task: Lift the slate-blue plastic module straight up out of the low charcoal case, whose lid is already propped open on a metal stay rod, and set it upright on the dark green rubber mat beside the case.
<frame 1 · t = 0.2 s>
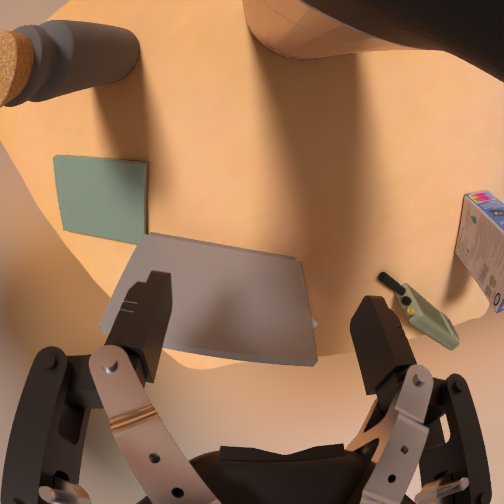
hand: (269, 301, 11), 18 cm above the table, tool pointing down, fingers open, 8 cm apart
bottle: (113, 55, 18), on the table
case: (213, 294, 36), on the table
handheld radio: (418, 300, 38), on the table
mat: (99, 198, 27), on the table
ink cartridge box: (471, 221, 28), on the table
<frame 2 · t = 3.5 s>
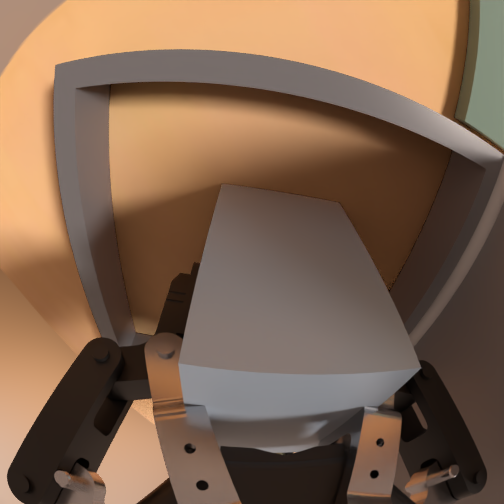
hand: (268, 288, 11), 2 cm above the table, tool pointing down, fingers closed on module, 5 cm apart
module: (267, 260, 13), resting in case, touching gripper
case: (267, 259, 13), on the table
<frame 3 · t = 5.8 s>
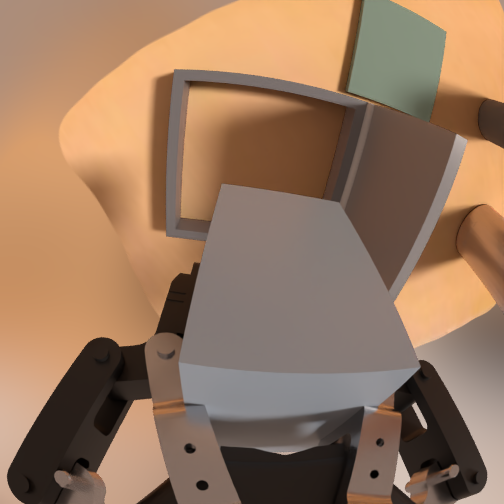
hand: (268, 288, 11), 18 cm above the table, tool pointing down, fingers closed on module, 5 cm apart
bottle: (489, 119, 21), on the table
module: (267, 259, 13), point 16 cm above the table, touching gripper
case: (257, 161, 26), on the table
mat: (399, 56, 18), on the table
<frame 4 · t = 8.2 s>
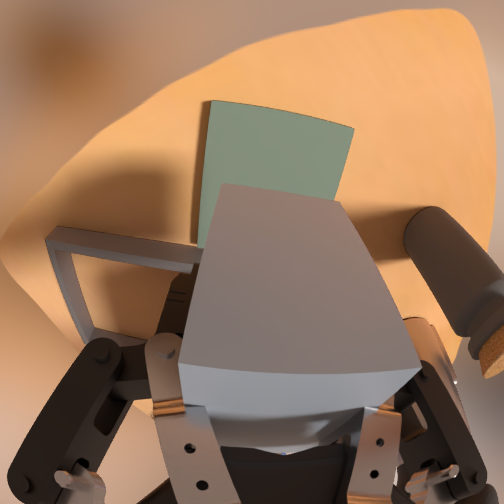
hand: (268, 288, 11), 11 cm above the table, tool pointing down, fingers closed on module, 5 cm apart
bottle: (426, 231, 22), on the table
module: (267, 259, 13), point 9 cm above the table, touching gripper
case: (135, 300, 28), on the table
mat: (269, 186, 20), on the table
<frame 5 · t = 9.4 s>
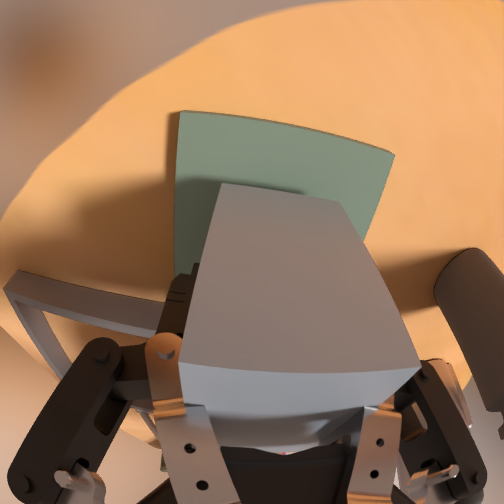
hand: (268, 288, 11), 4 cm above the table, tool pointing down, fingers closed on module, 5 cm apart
bottle: (460, 275, 17), on the table
module: (267, 259, 13), point 2 cm above the table, touching gripper
case: (113, 351, 22), on the table
mat: (269, 234, 15), on the table
when the fingers open (4 cm above the table, at t = 9.8 s): module drops 1 cm, resting on mat.
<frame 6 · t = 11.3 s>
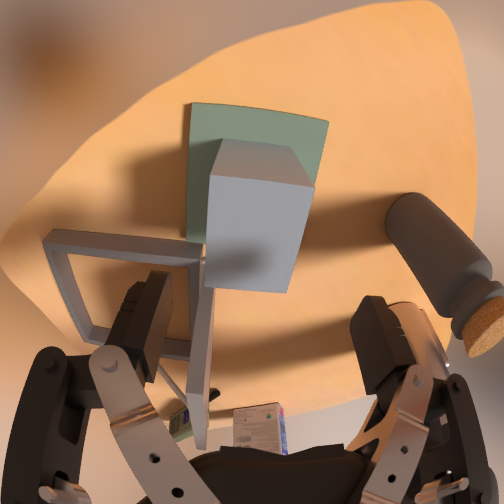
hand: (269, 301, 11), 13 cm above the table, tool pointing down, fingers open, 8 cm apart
bottle: (408, 217, 24), on the table
module: (251, 184, 21), point 1 cm above the table, touching mat
case: (130, 296, 29), on the table
handheld radio: (192, 404, 49), on the table
mat: (250, 180, 22), on the table
ink cartridge box: (258, 408, 50), on the table
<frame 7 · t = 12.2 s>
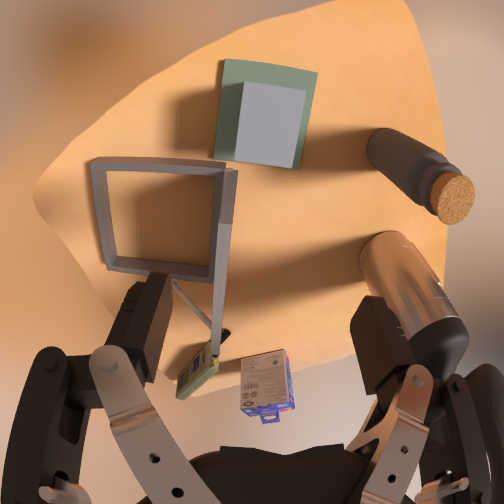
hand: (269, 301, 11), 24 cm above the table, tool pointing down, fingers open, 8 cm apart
bottle: (385, 148, 30), on the table
module: (264, 114, 27), point 1 cm above the table, touching mat
case: (158, 217, 35), on the table
handheld radio: (201, 355, 55), on the table
mat: (263, 113, 28), on the table
ink cartridge box: (265, 358, 56), on the table
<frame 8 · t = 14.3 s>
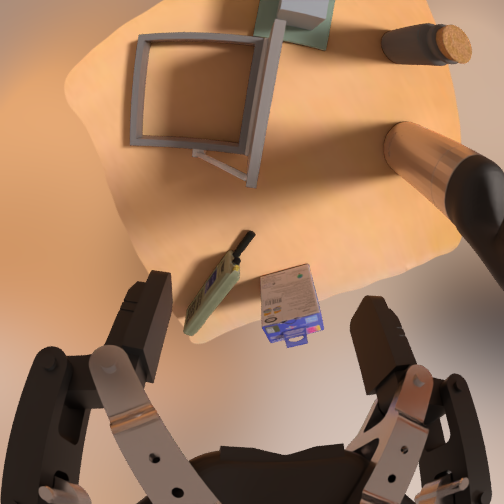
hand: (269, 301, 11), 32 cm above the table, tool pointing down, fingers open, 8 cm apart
bottle: (396, 47, 27), on the table
module: (297, 6, 24), point 1 cm above the table, touching mat
case: (194, 89, 33), on the table
handheld radio: (217, 275, 53), on the table
mat: (296, 7, 25), on the table
ink cartridge box: (286, 279, 53), on the table
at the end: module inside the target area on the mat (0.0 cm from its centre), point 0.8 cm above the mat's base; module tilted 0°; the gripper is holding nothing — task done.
